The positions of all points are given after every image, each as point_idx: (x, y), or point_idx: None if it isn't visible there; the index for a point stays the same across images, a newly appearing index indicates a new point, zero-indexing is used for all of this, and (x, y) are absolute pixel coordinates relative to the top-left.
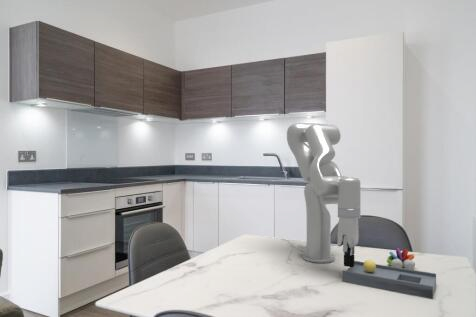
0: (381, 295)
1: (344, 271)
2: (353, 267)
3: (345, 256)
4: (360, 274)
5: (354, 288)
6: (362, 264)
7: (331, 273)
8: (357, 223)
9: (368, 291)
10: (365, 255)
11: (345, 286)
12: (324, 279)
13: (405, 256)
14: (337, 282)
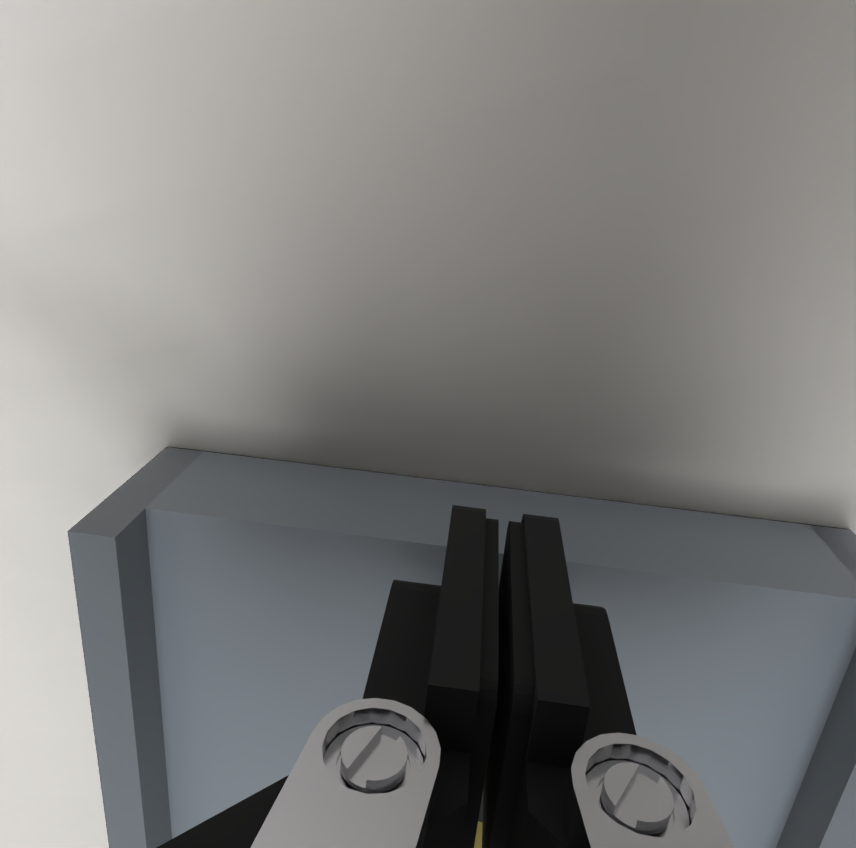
0: (12, 838)
1: (78, 559)
2: None
3: (425, 686)
4: (103, 780)
5: (14, 611)
6: (826, 761)
7: (485, 187)
8: None
9: (31, 741)
10: None
11: (3, 509)
12: (77, 152)
13: None
14: (81, 385)
